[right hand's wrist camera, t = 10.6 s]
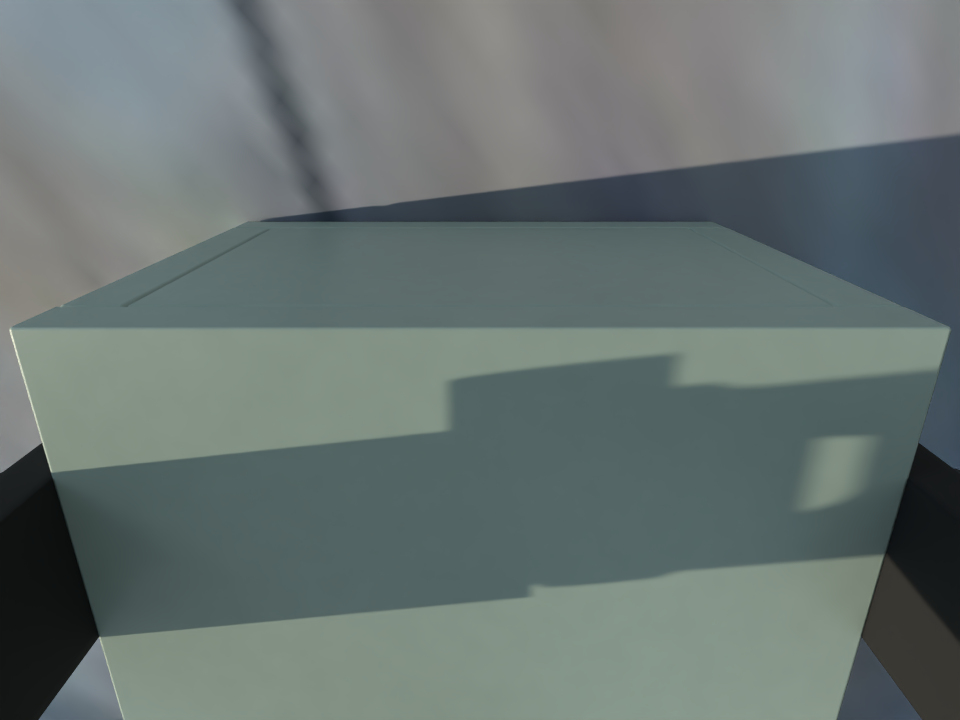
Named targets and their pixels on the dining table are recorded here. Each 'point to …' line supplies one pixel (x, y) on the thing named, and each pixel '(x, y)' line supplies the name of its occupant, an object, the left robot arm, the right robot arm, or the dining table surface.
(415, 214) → the dining table surface
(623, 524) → the cabinet
